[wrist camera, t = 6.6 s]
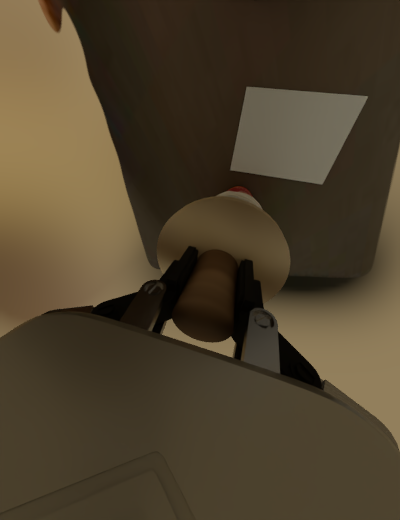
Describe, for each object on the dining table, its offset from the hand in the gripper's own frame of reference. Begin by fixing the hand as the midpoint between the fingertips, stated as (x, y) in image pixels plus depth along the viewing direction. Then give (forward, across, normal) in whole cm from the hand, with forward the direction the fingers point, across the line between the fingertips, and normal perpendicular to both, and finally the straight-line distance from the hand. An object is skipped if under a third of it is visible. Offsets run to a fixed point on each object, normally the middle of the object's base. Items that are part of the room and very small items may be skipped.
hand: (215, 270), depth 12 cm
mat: (+23, -5, -10) cm, 25 cm away
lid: (+1, 0, 0) cm, 1 cm away
